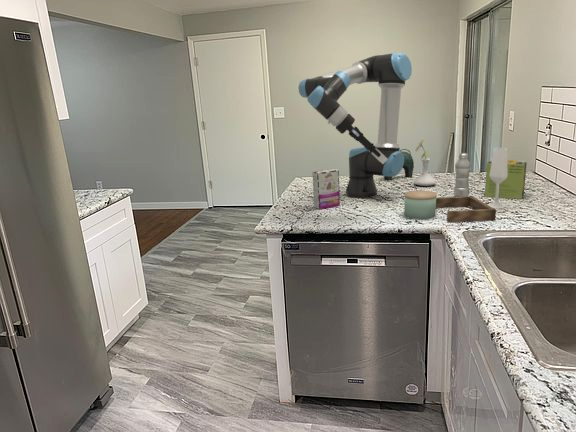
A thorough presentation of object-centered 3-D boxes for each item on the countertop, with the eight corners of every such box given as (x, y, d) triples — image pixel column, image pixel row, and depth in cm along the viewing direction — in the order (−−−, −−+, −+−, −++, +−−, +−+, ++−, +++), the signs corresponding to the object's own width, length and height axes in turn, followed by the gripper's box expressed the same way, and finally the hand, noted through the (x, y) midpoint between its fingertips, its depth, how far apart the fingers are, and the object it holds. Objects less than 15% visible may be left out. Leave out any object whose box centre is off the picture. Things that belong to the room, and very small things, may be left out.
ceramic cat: (386, 181, 245) (386, 145, 240) (379, 179, 251) (379, 144, 245) (415, 177, 252) (416, 142, 247) (407, 175, 258) (408, 141, 253)
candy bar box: (334, 203, 201) (333, 168, 197) (340, 205, 197) (339, 169, 193) (313, 207, 196) (311, 171, 192) (319, 209, 192) (317, 172, 188)
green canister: (399, 217, 175) (399, 195, 173) (410, 210, 184) (411, 189, 182) (429, 220, 168) (430, 198, 166) (439, 213, 177) (440, 192, 175)
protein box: (522, 199, 192) (525, 164, 188) (484, 196, 200) (486, 162, 196) (524, 194, 201) (527, 160, 197) (487, 192, 209) (490, 159, 205)
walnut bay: (448, 222, 165) (448, 211, 164) (430, 207, 187) (430, 198, 186) (495, 220, 164) (496, 209, 163) (471, 205, 186) (472, 196, 185)
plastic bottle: (470, 198, 197) (473, 154, 192) (454, 198, 199) (456, 154, 194) (467, 195, 204) (470, 152, 198) (452, 195, 205) (454, 152, 200)
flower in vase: (420, 182, 238) (421, 135, 232) (440, 184, 230) (442, 136, 224) (407, 186, 229) (408, 138, 223) (427, 188, 221) (429, 138, 215)
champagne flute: (483, 205, 185) (487, 148, 178) (495, 203, 187) (499, 147, 181) (496, 209, 179) (501, 150, 172) (508, 206, 181) (513, 148, 175)
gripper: (332, 125, 179) (373, 163, 183) (336, 129, 161) (381, 171, 165) (345, 111, 177) (386, 150, 181) (351, 113, 160) (395, 156, 164)
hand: (383, 160), depth 173 cm, fingers open, 5 cm apart
